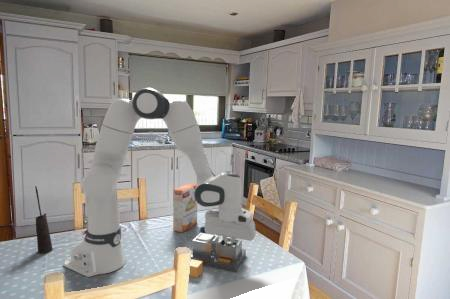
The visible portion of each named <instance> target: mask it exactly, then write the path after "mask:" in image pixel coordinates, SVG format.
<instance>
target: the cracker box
mask: <svg viewBox="0 0 450 299" xmlns="http://www.w3.org/2000/svg"><path fill="white" fill-rule="evenodd" d="M196 186H197V183H186V184H184V185H182V186H179V187H176V188H175V189H173V198H172V200H173V205H172V206H173V207H172V208H173V210H172V211H173V215H172V219H173V220H172V224H173V227H172V228H173V229H172V231H174V232H178V233H185V231H187V230H189V229H190V228H192V227H194V226H195V225H196V224H197V223H198V203H197V201H196V200H195V197H194V193H195V189H196Z"/></svg>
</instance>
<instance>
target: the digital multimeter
mask: <svg viewBox="0 0 450 299" xmlns="http://www.w3.org/2000/svg"><path fill="white" fill-rule="evenodd" d="M200 233H205V234H207V233H206V232H205V226H200V228H199V233H198V235H199V234H200ZM211 235H213V234H211Z"/></svg>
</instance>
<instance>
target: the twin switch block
mask: <svg viewBox="0 0 450 299" xmlns="http://www.w3.org/2000/svg"><path fill="white" fill-rule="evenodd" d="M202 234H205V233H200V234H199V233H198V234H197V235H196V237H194V238H193V239H192V242H191V244H192V246H191V248H192V249H191V251H190V252H192V255H191V259H193V260H198V261H203V267H204V266H206V267H209V268H215V269H219V270H222V271H230V272H233V273H236V272H237V270H238V268H239V267H240V266H241V264H242V262H243V261H244V259H245V257H246V255H247V249H246V248H243V239H237V238H236V240H235V241H234V243H233V245H236V246H235V247H231V246H226V245H224V244H225V242H224V240H223V236H221V238H220V236H219V235H214V239H213V240H212V241H211V242H210V243H209V242H203V241H198V238H199V237H200V236H201V235H202ZM208 235H211V234H208ZM219 238H220V239H219ZM227 240H228V241H229V242H232V241H233V240H231V237H227Z"/></svg>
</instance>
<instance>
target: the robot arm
mask: <svg viewBox="0 0 450 299" xmlns="http://www.w3.org/2000/svg"><path fill="white" fill-rule="evenodd" d="M141 119H145V120H157V119H158V120H159V119H160V120H162V121H163V122H164V123H165V125H166V128H167V131H168V133H169V135H170V138H171V140H172V142H173V144H174V146H175V148H176V149H177V150H178V151H179V152H180V153H183V154H185V155H186V157H187V158H188V160H189V161H190V163H191V166H192V168H193V171H194V173H195V175H196V185H197V186H196V189H195V193H194V197H195V200H196V201H197V205H200V206H201V207H204V208H205V207H215V206H218V210H217V211H216V210H211V209H210V210H207V211H206V212H205V213H204V220H205V223H204V227H205V232H206V233H207V234H213V235H217V236H219V237H220V236H221V237H223V240H224V242H225V245H226V246H231V247H233V243H234V241H235V240H236V239H241V240H242V241H249V242H251V241H253V240H254V239H255V237H256V223H255V221H254V219H253V218H254V213H253V212H252V211H249V210H247V209H245V208H243V207H242V201H241V199H242V196H243V184H242V183H243V182H242V178H241V176H240V175H239V174H238V173H236V172H234V171H227V170H226V171H225V170H224V171H221V172H220V173H219V174H217V175H215V173H214V172H213V171H212V169H211V167H210V164H209V162H208V160H207V157H206V155H205V153H204V152H205V151H204V147H203V145H204V144H203V138H202V137H203V136H202V134H201V129H200V125H199V123H198V119H197V118H196V115H195V114H194V112H193V110H192V108H191V106H190V105H189V103H188V102H187V100H184V99H180V98H175V99H172V100H169V99H167V98H166V96H164V94H163V93H162V92H161V91H159V90H158V89H155V88H152V87H144V88H141V89H139V90H138V91H136V93H135V94H134V95H133V98H132V99H126V98H115V99H114V100H112V102H111V104H110V106H109V107H108V109H107V111H106V113H105V116H104V118H103V121H102V125H101V127H100V130H99V134H98V137H97V140H96V143H95V148H94V153H93V157H92V159H91V160H92V161H91V164H90V167H89V169H88V171H87V172H86V173H85V174H84V176H83V178H82V185H81V186H82V191H83V196H84V204H85V207H86V213H87V228H86V230H84V231H82V234H81V235H82V236H83V235H84V238H83V239H82V240H81V241H79V242H78V243H77V244H75V245H74V246H73V247H72V249H71V252H70V257H68V258H66V260H65V261H64V263H63V266H64V267H65V268H67V269H70V270H72V271H74V272H76V273H78V274H80V275H83V276H84V277H87V278H89V277H93V276H96V275H97V276H98V275H103V274H104V275H105V274H109V273H111V272H114V271H115V272H116V271H118V270H119V269H121V268H122V267H123V266H124V265H125V263H126V259H125V257H124V256H125V255H124V253H123V248H122V242H121V240H122V229H121V228H122V227H121V226H120V206H119V199H118V187H117V186H118V182H119V179H120V176H121V173H122V169H123V166H124V163H125V161H126V157H127V154H128V150H129V147H130V144H131V142H132V137H133V135H134V132H135V128H136V126H137V123H138V122H139V121H140V120H141ZM227 237H229V238H231V240H233V241H232V242H229V241H228V240H227Z"/></svg>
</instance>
